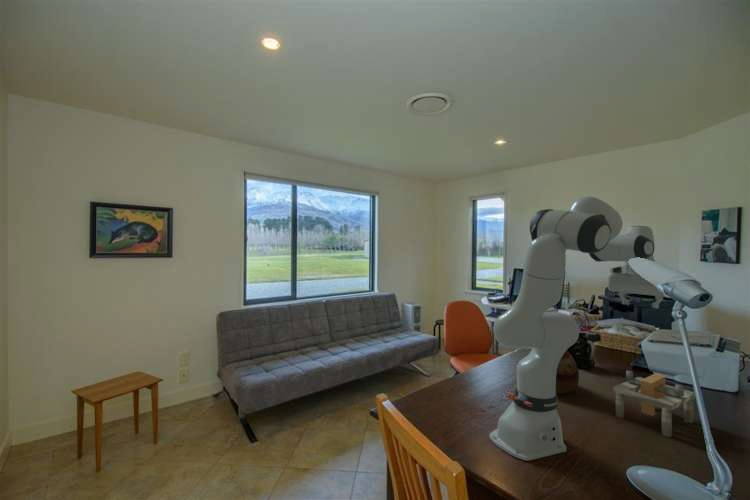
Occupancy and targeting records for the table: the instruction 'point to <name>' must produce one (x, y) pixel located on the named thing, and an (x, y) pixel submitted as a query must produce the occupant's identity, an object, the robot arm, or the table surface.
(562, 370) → the ceramic pitcher
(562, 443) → the robot arm
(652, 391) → the wooden mini bench
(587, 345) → the movie camera
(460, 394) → the table surface
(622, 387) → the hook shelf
